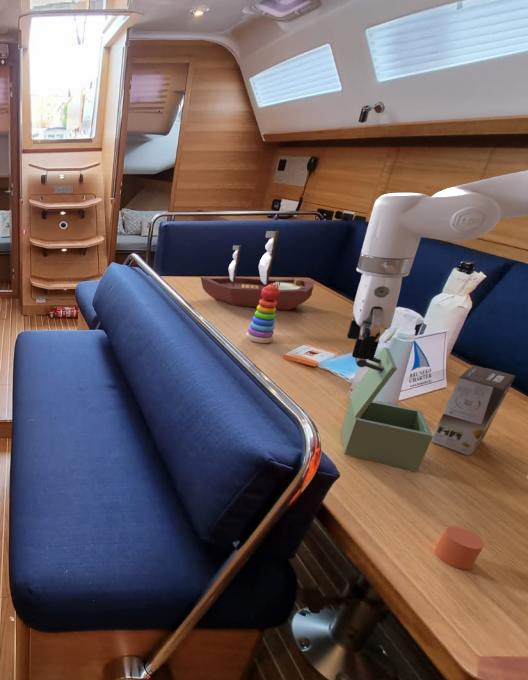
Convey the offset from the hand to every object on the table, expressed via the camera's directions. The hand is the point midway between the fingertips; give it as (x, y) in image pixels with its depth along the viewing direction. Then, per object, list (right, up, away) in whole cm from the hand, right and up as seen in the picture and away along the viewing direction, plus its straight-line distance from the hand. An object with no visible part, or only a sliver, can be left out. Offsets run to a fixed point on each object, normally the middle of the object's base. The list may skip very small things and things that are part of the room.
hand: (359, 348), depth 83 cm
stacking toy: (+13, +2, +57) cm, 58 cm away
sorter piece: (0, -33, -18) cm, 37 cm away
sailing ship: (+28, +17, +88) cm, 94 cm away
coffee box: (+26, -20, +6) cm, 34 cm away
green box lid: (+4, -7, +1) cm, 8 cm away
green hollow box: (+8, -22, +5) cm, 24 cm away
